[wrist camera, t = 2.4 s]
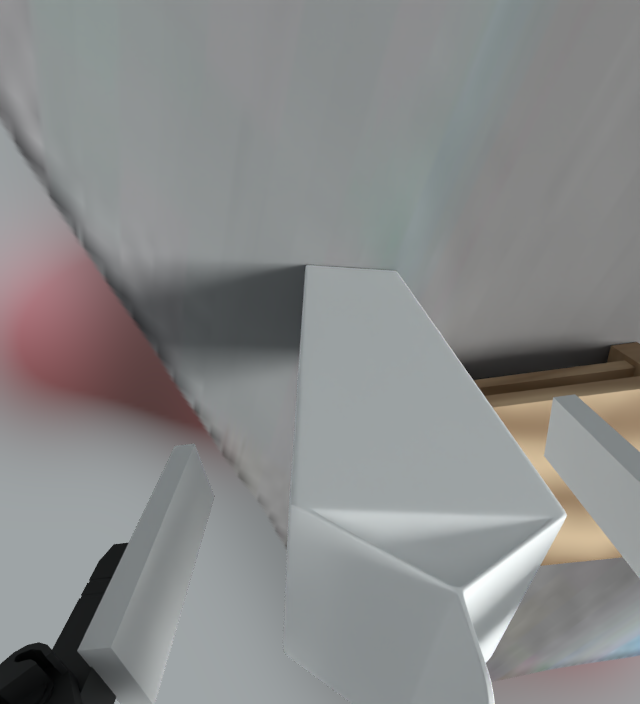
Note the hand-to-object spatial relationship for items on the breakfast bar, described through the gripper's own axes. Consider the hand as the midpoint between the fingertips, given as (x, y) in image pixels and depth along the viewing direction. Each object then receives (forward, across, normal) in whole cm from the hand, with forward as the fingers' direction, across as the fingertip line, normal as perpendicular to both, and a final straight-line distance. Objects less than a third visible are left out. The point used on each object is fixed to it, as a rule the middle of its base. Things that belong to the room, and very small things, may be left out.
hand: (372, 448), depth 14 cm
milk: (+14, 0, 0) cm, 14 cm away
